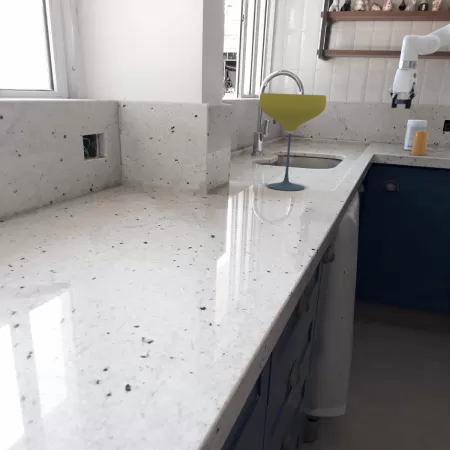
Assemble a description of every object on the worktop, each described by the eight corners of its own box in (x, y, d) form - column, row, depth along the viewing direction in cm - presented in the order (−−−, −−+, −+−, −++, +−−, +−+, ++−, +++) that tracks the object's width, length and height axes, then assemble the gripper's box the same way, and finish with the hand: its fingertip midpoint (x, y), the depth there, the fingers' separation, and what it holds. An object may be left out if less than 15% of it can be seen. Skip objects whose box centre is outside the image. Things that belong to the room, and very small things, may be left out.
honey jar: (427, 154, 234) (431, 131, 229) (420, 155, 230) (425, 132, 225) (415, 153, 238) (419, 130, 234) (408, 154, 234) (412, 131, 230)
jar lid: (412, 104, 222) (413, 99, 221) (397, 103, 222) (398, 99, 221) (406, 104, 229) (407, 100, 228) (392, 103, 228) (392, 99, 227)
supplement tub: (426, 151, 250) (432, 120, 245) (413, 151, 247) (418, 120, 241) (412, 148, 258) (417, 119, 253) (399, 149, 254) (404, 119, 249)
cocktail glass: (316, 195, 131) (327, 95, 121) (251, 190, 134) (256, 92, 124) (317, 184, 147) (326, 95, 138) (258, 180, 150) (263, 93, 140)
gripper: (429, 66, 214) (421, 109, 221) (396, 66, 227) (390, 107, 234) (419, 65, 210) (411, 109, 217) (386, 65, 223) (380, 107, 230)
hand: (400, 108), depth 226 cm, fingers closed on jar lid, 6 cm apart
